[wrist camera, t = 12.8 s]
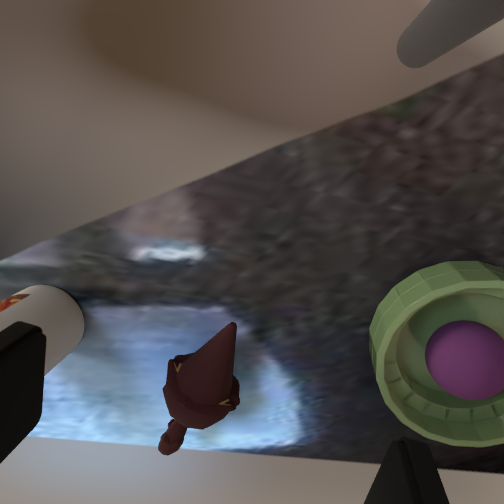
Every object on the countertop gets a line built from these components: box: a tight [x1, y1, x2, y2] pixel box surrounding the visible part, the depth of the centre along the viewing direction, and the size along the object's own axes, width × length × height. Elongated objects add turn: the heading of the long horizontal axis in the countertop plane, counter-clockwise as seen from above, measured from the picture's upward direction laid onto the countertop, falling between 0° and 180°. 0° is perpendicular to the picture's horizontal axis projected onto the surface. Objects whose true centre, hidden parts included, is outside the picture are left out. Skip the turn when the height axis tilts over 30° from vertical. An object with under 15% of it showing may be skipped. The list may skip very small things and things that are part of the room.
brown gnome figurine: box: [158, 322, 240, 455], centre depth 35 cm, size 7×7×15 cm
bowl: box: [369, 261, 504, 447], centre depth 31 cm, size 14×14×5 cm
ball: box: [425, 320, 504, 400], centre depth 30 cm, size 6×6×6 cm
